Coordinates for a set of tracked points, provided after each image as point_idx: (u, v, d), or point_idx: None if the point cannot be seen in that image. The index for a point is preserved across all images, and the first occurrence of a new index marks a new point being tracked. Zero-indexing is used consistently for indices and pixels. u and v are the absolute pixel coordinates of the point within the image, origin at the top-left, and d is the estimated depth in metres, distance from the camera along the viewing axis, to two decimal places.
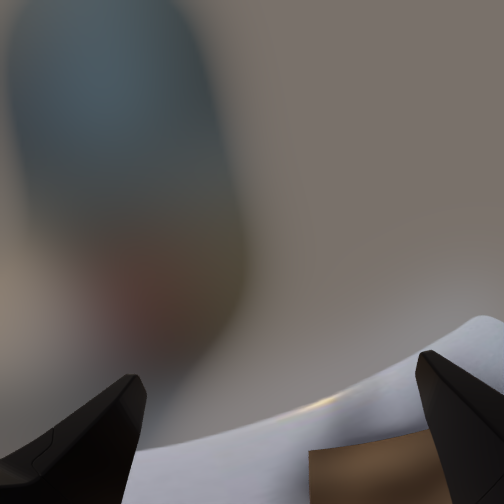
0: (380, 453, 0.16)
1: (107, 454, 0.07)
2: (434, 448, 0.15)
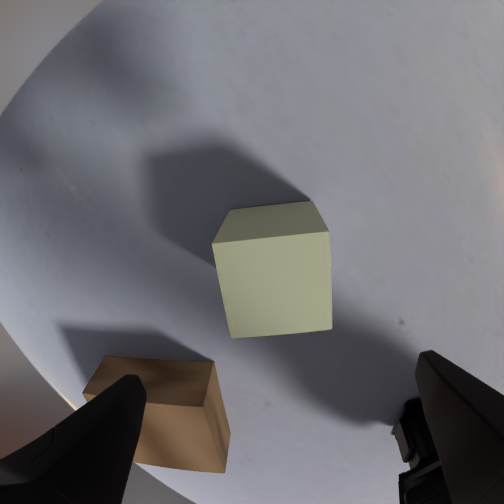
0: None
1: (107, 454, 0.07)
2: None
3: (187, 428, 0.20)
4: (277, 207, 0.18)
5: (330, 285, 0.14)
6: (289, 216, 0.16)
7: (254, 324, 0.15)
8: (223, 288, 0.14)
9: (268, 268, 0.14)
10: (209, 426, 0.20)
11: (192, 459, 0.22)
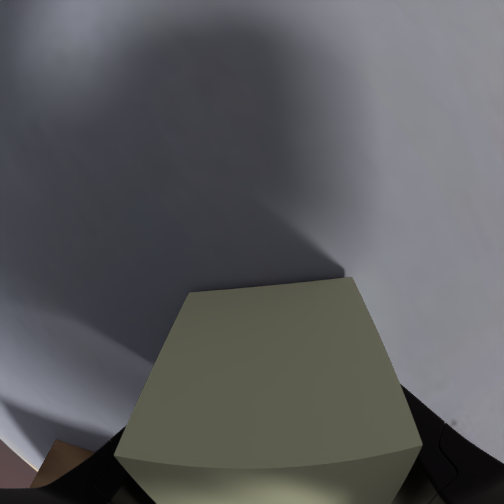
0: None
1: None
2: None
3: None
4: (282, 298, 0.09)
5: (389, 503, 0.04)
6: (311, 347, 0.06)
7: None
8: None
9: (256, 501, 0.04)
10: None
11: None
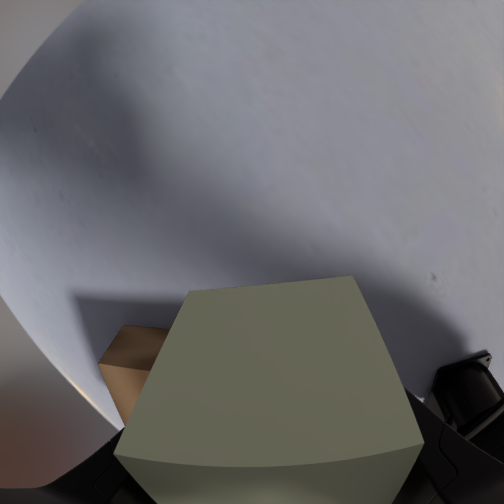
0: (130, 414, 0.21)
1: None
2: (125, 384, 0.19)
3: None
4: (282, 296, 0.09)
5: (390, 502, 0.04)
6: (312, 345, 0.06)
7: None
8: None
9: (256, 499, 0.04)
10: None
11: None
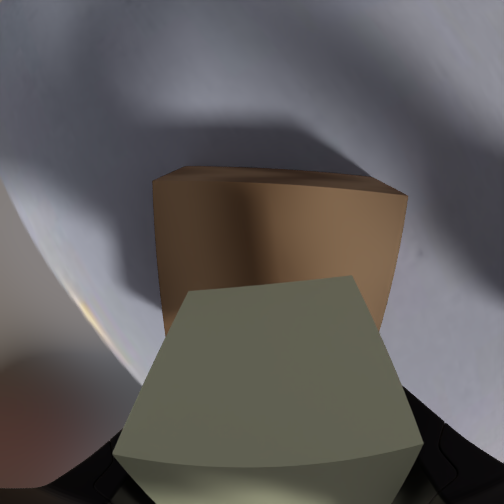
0: None
1: None
2: (196, 223, 0.12)
3: (359, 258, 0.12)
4: (282, 296, 0.09)
5: (389, 503, 0.04)
6: (311, 345, 0.06)
7: None
8: None
9: (255, 500, 0.04)
10: (398, 251, 0.12)
11: None
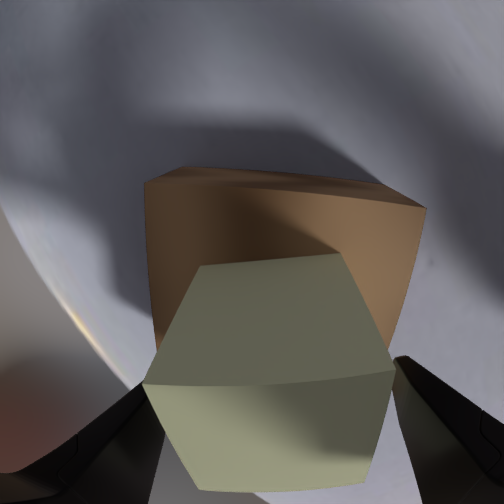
0: None
1: (134, 459, 0.06)
2: (192, 232, 0.11)
3: (370, 274, 0.11)
4: (280, 268, 0.10)
5: (375, 442, 0.06)
6: (305, 301, 0.08)
7: (236, 482, 0.07)
8: (176, 443, 0.07)
9: (259, 428, 0.06)
10: (412, 268, 0.11)
11: None
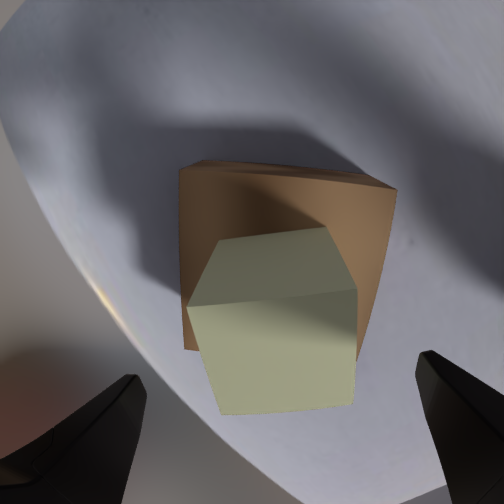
0: None
1: (107, 454, 0.07)
2: (216, 208, 0.14)
3: (354, 242, 0.14)
4: (280, 238, 0.14)
5: (354, 356, 0.09)
6: (297, 256, 0.11)
7: (251, 401, 0.11)
8: (207, 362, 0.10)
9: (268, 339, 0.09)
10: (388, 238, 0.14)
11: None
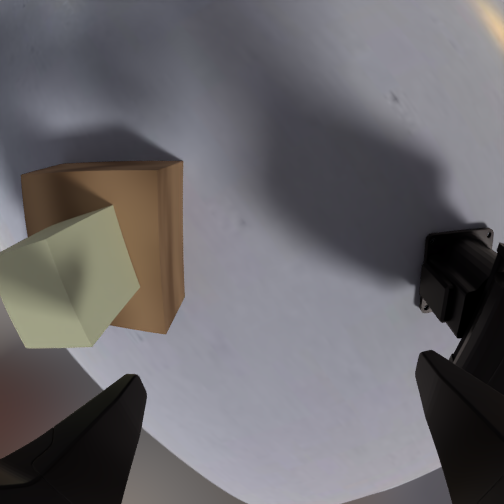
0: None
1: (107, 454, 0.07)
2: (40, 199, 0.16)
3: (129, 220, 0.16)
4: (76, 217, 0.15)
5: (67, 297, 0.11)
6: (61, 226, 0.13)
7: (33, 335, 0.12)
8: (3, 300, 0.12)
9: (20, 281, 0.11)
10: (158, 214, 0.16)
11: None
